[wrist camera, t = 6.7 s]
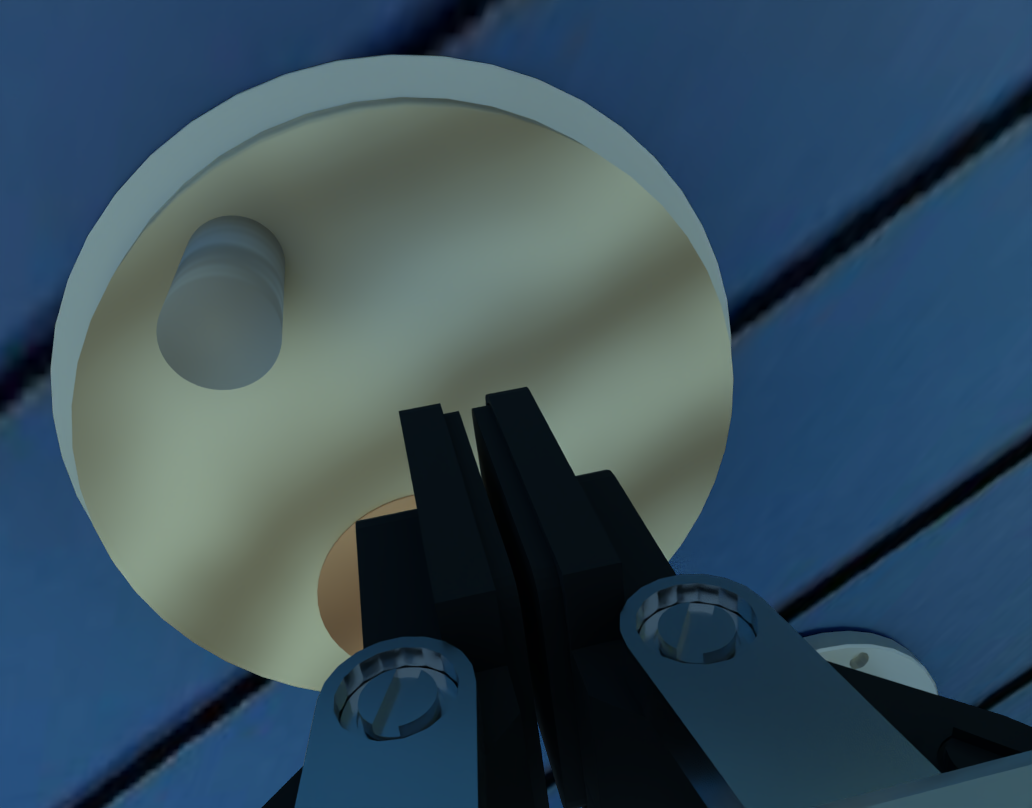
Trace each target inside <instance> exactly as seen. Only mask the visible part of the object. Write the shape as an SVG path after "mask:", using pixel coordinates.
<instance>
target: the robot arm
mask: <svg viewBox="0 0 1032 808" xmlns="http://www.w3.org/2000/svg"><path fill="white" fill-rule="evenodd" d="M485 401H486V406H481V407H476V408H472V419H473V426H474V433H475V439H476V446H477V452H478V459H479V465H480V472H481V475H480V472H479V469H478V466H477V463H476V460H475V457H474V454H473V451H472V448H471V445H470V442H469V439H468V436H467V433H466V430H465V427H464V424H463V421H462V418H461V415H460V412H459V411H455V412H450V413H445V414H443V410H442V407H441V404H440V403H438V404H433V405H427V406H422V407H417V408H412V409H407V410H401V411H399V416H400V422H401V427H402V432H403V438H404V443H405V448H406V453H407V459H408V464H409V469H410V475H411V480H412V485H413V491H414V496H415V501H416V507H417V509H412V510H407V511H402V512H397V513H393V514H388V515H383V516H378V517H373V518H368V519H363V520H359V521H356V544H357V559H358V574H359V590H360V605H361V620H362V635H363V649H362V650H360V651H358V652H356V653H355V654H354V655H352V656H351V657H349V658H348V659H347V660H345V661H344V662H343V663H341V664H340V665H339V666H338V667H337V668H336V669H335V670H334V671H333V673H332V674H331V675H330V676H329V677H328V679H327V680H326V681H325V682H324V684H323V687H322V689H321V692H320V694H319V697H318V699H317V702H316V707H315V712H314V717H313V721H312V726H311V731H310V736H309V741H308V746H307V750H306V755H305V760H304V765H303V767H302V768H301V769H300V770H299V771H298V772H297V773H296V774H295V775H294V776H293V777H292V778H291V779H290V780H289V781H288V782H287V783H286V784H285V785H284V786H283V787H282V788H281V789H280V790H279V791H278V792H277V793H276V794H275V795H274V796H273V797H272V798H271V799H270V800H269V801H268V802H267V803H266V804H265V805H264V806H263V807H262V808H549V802H548V795H547V788H546V781H545V774H544V767H543V760H542V753H541V745H540V738H539V731H538V725H539V728H540V732H541V735H542V738H543V742H544V745H545V748H546V752H547V755H548V758H549V762H550V765H551V768H552V772H553V775H554V778H555V782H556V785H557V788H558V792H559V795H560V798H561V801H562V805H563V807H564V808H580V807H582V808H1032V727H1030V726H1028V725H1025V724H1023V723H1021V722H1018V721H1016V720H1013V719H1011V718H1009V717H1006V716H1004V715H1000V714H997V713H994V712H991V711H987V710H984V709H981V708H978V707H975V706H971V705H968V704H965V703H962V702H958V701H955V700H952V699H949V698H945V697H942V696H939V695H938V691H937V688H936V684H935V682H934V680H933V679H932V677H931V676H930V674H929V673H928V671H927V670H926V668H925V667H924V666H923V665H922V664H921V663H920V662H919V661H918V660H917V659H916V658H915V656H914V655H913V654H912V653H911V652H910V651H909V650H908V649H906V648H905V647H903V646H902V645H900V644H898V643H897V642H895V641H894V640H892V639H889V638H886V637H883V636H879V635H876V634H873V633H866V632H856V631H840V632H828V633H820V634H816V635H812V636H807V637H803V638H802V637H801V636H800V635H799V634H798V633H797V632H796V631H795V630H794V629H793V628H792V627H791V626H790V625H789V624H788V623H787V622H786V621H785V620H784V619H783V618H782V617H781V616H780V615H779V614H778V613H777V612H776V611H775V610H774V609H773V608H772V607H771V606H770V605H769V604H768V603H767V602H766V601H765V600H764V599H763V598H761V597H760V596H759V595H757V594H756V593H755V592H753V591H752V590H750V589H749V588H748V587H746V586H744V585H742V584H739V583H737V582H734V581H732V580H729V579H727V578H723V577H717V576H712V575H706V574H680V575H676V574H675V572H674V571H673V569H672V567H671V566H670V564H669V562H668V561H667V559H666V558H665V556H664V554H663V553H662V551H661V549H660V548H659V546H658V545H657V543H656V541H655V540H654V538H653V537H652V535H651V533H650V532H649V530H648V528H647V527H646V525H645V524H644V522H643V520H642V519H641V517H640V515H639V514H638V512H637V511H636V509H635V507H634V506H633V504H632V502H631V501H630V499H629V498H628V496H627V494H626V493H625V491H624V490H623V488H622V486H621V485H620V483H619V481H618V480H617V478H616V477H615V475H614V474H613V473H612V471H611V470H607V469H606V470H601V471H597V472H592V473H587V474H582V475H577V476H575V474H574V472H573V470H572V468H571V466H570V465H569V463H568V461H567V459H566V457H565V455H564V453H563V452H562V450H561V448H560V446H559V444H558V442H557V440H556V438H555V437H554V435H553V433H552V431H551V429H550V427H549V425H548V423H547V422H546V420H545V418H544V416H543V414H542V412H541V410H540V408H539V407H538V405H537V403H536V401H535V399H534V397H533V395H532V393H531V392H530V390H529V388H528V387H522V388H517V389H511V390H506V391H501V392H496V393H490V394H486V396H485ZM537 722H538V724H537Z"/></svg>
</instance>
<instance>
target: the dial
mask: <svg viewBox="0 0 1032 808" xmlns="http://www.w3.org/2000/svg"><path fill="white" fill-rule="evenodd" d="M522 387H528V388H529V390H530V392H531V393H532V395H533V397H534V399H535V401H536V403H537V405H538V407H539V408H540V410H541V412H542V414H543V416H544V418H545V420H546V422H547V423H548V425H549V427H550V429H551V431H552V433H553V435H554V437H555V438H556V440H557V442H558V444H559V446H560V448H561V450H562V452H563V453H564V455H565V457H566V459H567V461H568V463H569V465H570V466H571V468H572V470H573V472H574V474H575V476H577V475H582V474H587V473H592V472H597V471H601V470H606V469H607V470H611V471H612V473H613V474H614V475H615V477H616V478H617V480H618V481H619V483H620V485H621V486H622V488H623V490H624V491H625V493H626V494H627V496H628V498H629V499H630V501H631V502H632V504H633V506H634V507H635V509H636V511H637V512H638V514H639V515H640V517H641V519H642V520H643V522H644V524H645V525H646V527H647V528H648V530H649V532H650V533H651V535H652V537H653V538H654V540H655V541H656V543H657V545H658V546H659V548H660V549H661V551H662V553H663V554H664V556H665V558H666V559H667V561H669V560H670V559H671V557H672V556H673V555H674V553H675V552H676V551H677V550H678V548H679V547H680V546H681V544H682V543H683V541H684V539H685V538H686V536H687V535H688V533H689V531H690V530H691V528H692V526H693V525H694V523H695V521H696V520H697V518H698V516H699V515H700V513H701V511H702V509H703V506H704V504H705V502H706V500H707V498H708V495H709V493H710V491H711V489H712V487H713V485H714V482H715V479H716V476H717V473H718V470H719V467H720V464H721V460H722V457H723V454H724V451H725V447H726V442H727V436H728V431H729V425H730V420H731V414H732V395H733V369H732V358H731V347H730V340H729V335H728V331H727V327H726V323H725V319H724V315H723V310H722V306H721V304H720V301H719V299H718V296H717V294H716V291H715V289H714V286H713V284H712V281H711V279H710V276H709V274H708V271H707V269H706V267H705V266H704V264H703V262H702V261H701V259H700V257H699V255H698V254H697V252H696V250H695V249H694V247H693V245H692V244H691V242H690V240H689V238H688V237H687V235H686V234H685V233H684V232H683V230H682V229H681V228H680V227H679V226H678V224H677V223H676V222H675V221H674V219H673V218H672V217H671V216H670V214H669V213H668V212H667V211H666V209H665V208H664V207H663V206H662V205H661V204H660V203H659V202H658V201H657V200H656V199H655V198H654V197H653V196H652V195H650V194H649V193H648V192H647V191H646V190H645V189H644V188H643V187H642V186H641V185H640V184H638V183H637V182H636V181H635V180H634V179H633V178H632V177H631V176H629V175H628V174H626V173H625V172H624V171H622V170H621V169H619V168H618V167H616V166H615V165H613V164H612V163H610V162H609V161H607V160H606V159H604V158H603V157H601V156H600V155H598V154H597V153H595V152H594V151H592V150H591V149H589V148H587V147H586V146H584V145H583V144H581V143H579V142H578V141H576V140H575V139H573V138H571V137H569V136H567V135H565V134H563V133H561V132H558V131H556V130H554V129H552V128H550V127H548V126H546V125H544V124H542V123H540V122H538V121H536V120H533V119H530V118H527V117H524V116H521V115H518V114H515V113H511V112H508V111H505V110H502V109H499V108H496V107H493V106H487V105H481V104H476V103H470V102H464V101H458V100H452V99H443V98H411V97H397V98H387V99H378V100H369V101H359V102H352V103H347V104H343V105H339V106H335V107H331V108H327V109H323V110H319V111H315V112H311V113H307V114H304V115H302V116H299V117H297V118H294V119H292V120H289V121H287V122H284V123H282V124H279V125H277V126H274V127H272V128H269V129H267V130H264V131H262V132H260V133H258V134H257V135H255V136H253V137H251V138H250V139H248V140H246V141H244V142H243V143H241V144H239V145H237V146H236V147H234V148H232V149H231V150H229V151H227V152H225V153H224V154H222V155H220V156H219V157H217V158H216V159H215V160H214V161H212V162H211V163H210V164H209V165H207V166H206V167H205V168H203V169H202V170H201V171H200V172H198V173H197V174H196V175H195V176H193V177H192V178H191V179H189V180H188V181H187V182H186V183H184V184H183V185H182V186H181V187H180V188H179V189H178V190H177V191H176V192H175V193H174V194H173V196H172V197H171V198H170V199H169V200H168V201H167V202H166V203H165V204H164V205H163V206H162V207H161V208H160V209H159V210H158V211H157V212H156V213H155V214H154V216H153V217H152V218H151V219H150V220H149V222H148V223H147V225H146V226H145V227H144V229H143V230H142V232H141V233H140V235H139V236H138V237H137V239H136V240H135V242H134V243H133V245H132V246H131V247H130V249H129V250H128V252H127V253H126V255H125V256H124V258H123V260H122V261H121V263H120V265H119V266H118V268H117V270H116V271H115V273H114V275H113V276H112V278H111V280H110V282H109V284H108V286H107V288H106V290H105V292H104V294H103V296H102V298H101V300H100V302H99V304H98V306H97V308H96V310H95V312H94V314H93V316H92V318H91V321H90V324H89V327H88V330H87V334H86V337H85V340H84V343H83V347H82V350H81V353H80V356H79V360H78V363H77V370H76V377H75V384H74V392H73V399H72V406H71V407H72V448H73V454H74V459H75V464H76V470H77V475H78V480H79V486H80V490H81V493H82V495H83V498H84V501H85V504H86V507H87V509H88V512H89V515H90V518H91V520H92V523H93V526H94V528H95V530H96V532H97V533H98V535H99V537H100V539H101V541H102V543H103V545H104V546H105V548H106V550H107V552H108V554H109V556H110V557H111V559H112V561H113V562H114V564H115V565H116V566H117V568H118V569H119V570H120V572H121V573H122V574H123V576H124V577H125V578H126V580H127V581H128V582H129V584H130V585H131V586H132V588H133V589H134V590H135V592H136V593H137V594H138V595H139V596H140V597H141V598H142V599H143V600H144V601H145V602H146V603H147V604H148V605H149V606H150V607H151V608H152V609H153V610H154V611H155V612H156V613H157V614H158V615H159V616H160V617H161V618H162V619H164V620H165V621H166V622H167V623H169V624H170V625H171V626H173V627H174V628H175V629H177V630H178V631H179V632H181V633H182V634H183V635H184V636H186V637H187V638H188V639H190V640H191V641H192V642H194V643H196V644H197V645H199V646H201V647H202V648H204V649H206V650H208V651H209V652H211V653H213V654H214V655H216V656H218V657H220V658H221V659H223V660H225V661H227V662H229V663H231V664H234V665H236V666H238V667H241V668H243V669H245V670H248V671H250V672H252V673H255V674H257V675H259V676H262V677H265V678H269V679H272V680H275V681H279V682H282V683H285V684H289V685H292V686H295V687H300V688H305V689H310V690H316V691H321V689H322V687H323V684H324V682H325V681H326V680H327V679H328V677H329V676H330V675H331V674H332V673H333V671H334V670H335V669H336V668H337V667H338V666H339V665H340V664H341V663H343V662H344V661H345V660H347V659H348V658H349V657H351V656H352V655H354V654H355V653H356V652H358V651H360V650H362V649H363V635H362V620H361V605H360V590H359V574H358V559H357V544H356V521H359V520H363V519H368V518H373V517H378V516H383V515H388V514H393V513H397V512H402V511H407V510H412V509H417V507H416V501H415V496H414V491H413V485H412V480H411V475H410V469H409V464H408V459H407V453H406V448H405V443H404V438H403V432H402V427H401V422H400V416H399V411H401V410H407V409H412V408H417V407H422V406H427V405H433V404H438V403H440V404H441V407H442V410H443V414H445V413H450V412H455V411H459V412H460V415H461V418H462V421H463V424H464V427H465V430H466V433H467V436H468V439H469V442H470V445H471V448H472V451H473V454H474V457H475V460H476V463H477V466H478V469H479V472H480V465H479V459H478V452H477V446H476V439H475V433H474V426H473V419H472V408H476V407H481V406H486V401H485V396H486V394H490V393H496V392H501V391H506V390H511V389H517V388H522ZM480 475H481V472H480Z"/></svg>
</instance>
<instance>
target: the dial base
mask: <svg viewBox="0 0 1032 808" xmlns="http://www.w3.org/2000/svg"><path fill="white" fill-rule="evenodd" d="M397 97H411V98H443V99H452V100H458V101H464V102H470V103H476V104H481V105H487V106H493V107H496V108H499V109H502V110H505V111H508V112H511V113H515V114H518V115H521V116H524V117H527V118H530V119H533V120H536V121H538V122H540V123H542V124H544V125H546V126H548V127H550V128H552V129H554V130H556V131H558V132H561V133H563V134H565V135H567V136H569V137H571V138H573V139H575V140H576V141H578V142H579V143H581V144H583V145H584V146H586V147H587V148H589V149H591V150H592V151H594V152H595V153H597V154H598V155H600V156H601V157H603V158H604V159H606V160H607V161H609V162H610V163H612V164H613V165H615V166H616V167H618V168H619V169H621V170H622V171H624V172H625V173H626V174H628V175H629V176H631V177H632V178H633V179H634V180H635V181H636V182H637V183H638V184H640V185H641V186H642V187H643V188H644V189H645V190H646V191H647V192H648V193H649V194H650V195H652V196H653V197H654V198H655V199H656V200H657V201H658V202H659V203H660V204H661V205H662V206H663V207H664V208H665V209H666V211H667V212H668V213H669V214H670V216H671V217H672V218H673V219H674V221H675V222H676V223H677V224H678V226H679V227H680V228H681V229H682V230H683V232H684V233H685V234H686V235H687V237H688V238H689V240H690V242H691V244H692V245H693V247H694V249H695V250H696V252H697V254H698V255H699V257H700V259H701V261H702V262H703V264H704V266H705V267H706V269H707V271H708V274H709V276H710V279H711V281H712V284H713V286H714V289H715V291H716V294H717V296H718V299H719V301H720V304H721V306H722V310H723V315H724V319H725V323H726V327H727V331H728V335H729V340H730V347H731V332H730V323H729V313H728V304H727V298H726V294H725V290H724V286H723V282H722V278H721V274H720V270H719V266H718V263H717V260H716V258H715V255H714V253H713V250H712V248H711V246H710V243H709V241H708V238H707V236H706V233H705V231H704V229H703V226H702V224H701V223H700V221H699V219H698V218H697V216H696V214H695V213H694V211H693V209H692V208H691V206H690V204H689V202H688V201H687V199H686V197H685V196H684V194H683V192H682V191H681V189H680V188H679V187H678V186H677V184H676V183H675V182H674V181H673V180H672V178H671V177H670V176H669V175H668V173H667V172H666V171H665V170H664V168H663V167H662V166H661V165H660V163H659V162H658V161H657V160H656V159H655V157H654V156H653V155H651V154H650V153H649V152H648V151H647V150H646V149H645V148H644V147H643V146H642V145H641V144H639V143H638V142H637V141H636V140H635V139H634V138H633V137H632V136H631V135H630V134H629V133H627V132H626V131H625V130H624V129H623V128H622V127H621V126H619V125H618V124H616V123H615V122H613V121H612V120H610V119H609V118H607V117H606V116H604V115H603V114H601V113H600V112H599V111H597V110H596V109H594V108H593V107H591V106H590V105H588V104H587V103H585V102H584V101H582V100H580V99H578V98H576V97H574V96H571V95H569V94H567V93H565V92H563V91H561V90H559V89H557V88H555V87H553V86H551V85H549V84H547V83H545V82H543V81H541V80H538V79H536V78H533V77H530V76H527V75H523V74H520V73H517V72H514V71H511V70H508V69H505V68H501V67H498V66H495V65H492V64H488V63H482V62H476V61H470V60H464V59H458V58H452V57H446V56H437V55H399V54H387V55H378V56H369V57H360V58H352V59H343V60H336V61H332V62H328V63H324V64H320V65H317V66H313V67H309V68H305V69H301V70H297V71H293V72H290V73H286V74H283V75H281V76H279V77H276V78H274V79H271V80H269V81H267V82H264V83H262V84H259V85H257V86H255V87H252V88H250V89H247V90H245V91H243V92H240V93H238V94H236V95H234V96H233V97H231V98H229V99H228V100H226V101H224V102H223V103H221V104H219V105H218V106H216V107H214V108H213V109H211V110H209V111H208V112H206V113H204V114H203V115H201V116H199V117H198V118H196V119H194V120H193V121H191V122H190V123H189V124H187V125H186V126H185V127H184V128H183V129H181V130H180V131H179V132H178V133H176V134H175V135H174V136H173V137H172V138H170V139H169V140H168V141H167V142H166V143H164V144H163V145H162V146H161V147H159V148H158V149H157V150H156V151H155V152H153V153H152V154H151V155H150V156H149V157H148V159H147V160H146V161H145V162H144V163H143V164H142V165H141V166H140V167H139V168H138V170H137V171H136V172H135V173H134V174H133V175H132V176H131V177H130V178H129V180H128V181H127V182H126V183H125V184H124V185H123V186H122V187H121V188H120V189H119V191H118V192H117V193H116V194H115V196H114V197H113V199H112V200H111V202H110V203H109V205H108V206H107V208H106V209H105V211H104V212H103V214H102V215H101V217H100V218H99V220H98V221H97V223H96V225H95V226H94V228H93V229H92V231H91V232H90V234H89V235H88V237H87V239H86V241H85V243H84V246H83V248H82V250H81V252H80V254H79V257H78V259H77V261H76V263H75V265H74V268H73V270H72V272H71V274H70V277H69V279H68V281H67V285H66V289H65V292H64V296H63V300H62V303H61V307H60V311H59V314H58V318H57V322H56V325H55V334H54V343H53V353H52V362H51V388H52V407H53V417H54V422H55V427H56V431H57V436H58V441H59V445H60V450H61V455H62V458H63V461H64V463H65V466H66V469H67V471H68V474H69V476H70V479H71V482H72V484H73V487H74V490H75V492H76V495H77V497H78V499H79V500H80V502H81V504H82V506H83V507H84V509H85V511H86V513H87V514H88V516H89V518H90V515H89V512H88V509H87V507H86V504H85V501H84V498H83V495H82V493H81V490H80V486H79V480H78V475H77V470H76V464H75V459H74V454H73V448H72V407H71V406H72V399H73V392H74V384H75V377H76V370H77V363H78V360H79V356H80V353H81V350H82V347H83V343H84V340H85V337H86V334H87V330H88V327H89V324H90V321H91V318H92V316H93V314H94V312H95V310H96V308H97V306H98V304H99V302H100V300H101V298H102V296H103V294H104V292H105V290H106V288H107V286H108V284H109V282H110V280H111V278H112V276H113V275H114V273H115V271H116V270H117V268H118V266H119V265H120V263H121V261H122V260H123V258H124V256H125V255H126V253H127V252H128V250H129V249H130V247H131V246H132V245H133V243H134V242H135V240H136V239H137V237H138V236H139V235H140V233H141V232H142V230H143V229H144V227H145V226H146V225H147V223H148V222H149V220H150V219H151V218H152V217H153V216H154V214H155V213H156V212H157V211H158V210H159V209H160V208H161V207H162V206H163V205H164V204H165V203H166V202H167V201H168V200H169V199H170V198H171V197H172V196H173V194H174V193H175V192H176V191H177V190H178V189H179V188H180V187H181V186H182V185H183V184H184V183H186V182H187V181H188V180H189V179H191V178H192V177H193V176H195V175H196V174H197V173H198V172H200V171H201V170H202V169H203V168H205V167H206V166H207V165H209V164H210V163H211V162H212V161H214V160H215V159H216V158H217V157H219V156H220V155H222V154H224V153H225V152H227V151H229V150H231V149H232V148H234V147H236V146H237V145H239V144H241V143H243V142H244V141H246V140H248V139H250V138H251V137H253V136H255V135H257V134H258V133H260V132H262V131H264V130H267V129H269V128H272V127H274V126H277V125H279V124H282V123H284V122H287V121H289V120H292V119H294V118H297V117H299V116H302V115H304V114H307V113H311V112H315V111H319V110H323V109H327V108H331V107H335V106H339V105H343V104H347V103H352V102H359V101H369V100H378V99H387V98H397ZM90 520H91V518H90ZM91 522H92V520H91Z"/></svg>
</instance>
